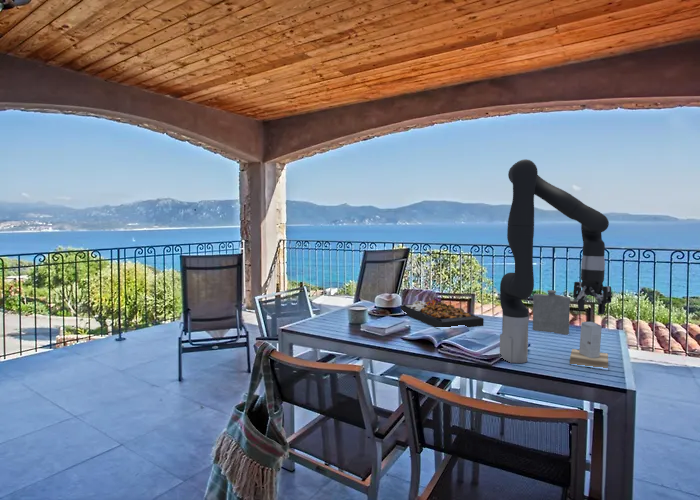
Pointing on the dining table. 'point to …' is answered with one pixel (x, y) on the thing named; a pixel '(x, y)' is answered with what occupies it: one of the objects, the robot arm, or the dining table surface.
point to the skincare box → (590, 339)
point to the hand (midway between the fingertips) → (590, 311)
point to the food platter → (441, 314)
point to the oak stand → (589, 359)
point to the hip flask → (551, 313)
